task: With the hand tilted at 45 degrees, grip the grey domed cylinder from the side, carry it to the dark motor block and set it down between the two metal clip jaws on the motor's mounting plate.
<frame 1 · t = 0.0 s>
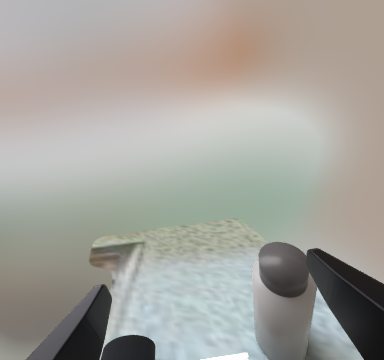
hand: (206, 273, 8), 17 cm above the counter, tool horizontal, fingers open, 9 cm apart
grey domed cylinder: (279, 335, 19), on the counter
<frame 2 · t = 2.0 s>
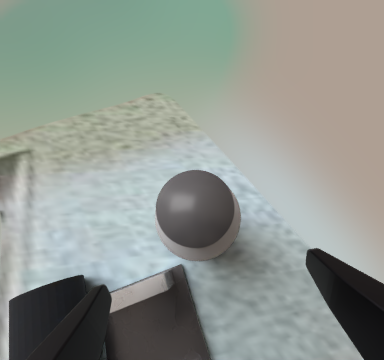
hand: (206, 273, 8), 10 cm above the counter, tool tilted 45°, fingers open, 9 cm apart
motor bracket: (155, 339, 15), on the counter
grey domed cylinder: (202, 230, 18), on the counter
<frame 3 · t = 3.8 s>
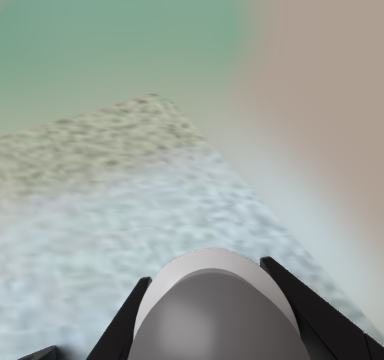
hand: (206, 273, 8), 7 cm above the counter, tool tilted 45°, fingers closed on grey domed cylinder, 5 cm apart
grey domed cylinder: (210, 282, 14), on the counter, touching gripper
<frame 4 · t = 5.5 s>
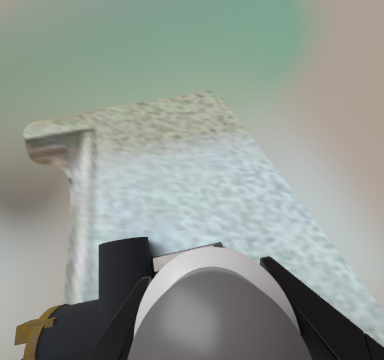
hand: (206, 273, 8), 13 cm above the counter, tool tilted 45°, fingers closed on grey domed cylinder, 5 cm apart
pipe connector: (109, 319, 19), on the counter
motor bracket: (195, 297, 19), on the counter
grey domed cylinder: (210, 282, 14), point 7 cm above the counter, touching gripper
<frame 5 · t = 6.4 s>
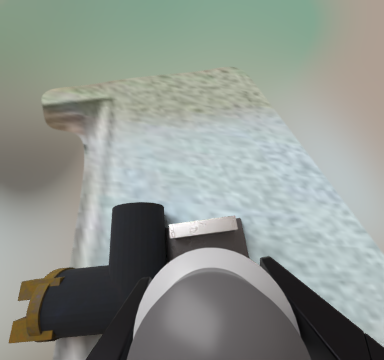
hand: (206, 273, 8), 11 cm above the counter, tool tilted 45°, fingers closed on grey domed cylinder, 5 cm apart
pipe connector: (116, 290, 18), on the counter, touching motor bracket
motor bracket: (209, 273, 18), on the counter
grey domed cylinder: (210, 282, 14), point 4 cm above the counter, touching gripper
when the fingers open (8 cm above the counter, at t = 7.3 s): grey domed cylinder drops 1 cm, resting on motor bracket.
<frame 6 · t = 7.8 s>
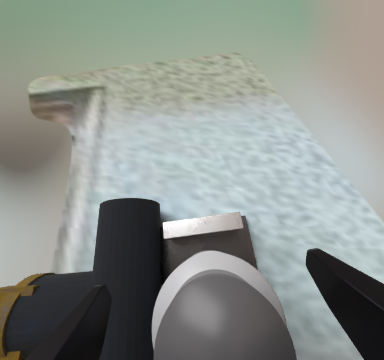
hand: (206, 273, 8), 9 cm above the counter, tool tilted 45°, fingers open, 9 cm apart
pipe connector: (103, 299, 16), on the counter
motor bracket: (210, 278, 15), on the counter
grey domed cylinder: (210, 280, 15), point 1 cm above the counter, touching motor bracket
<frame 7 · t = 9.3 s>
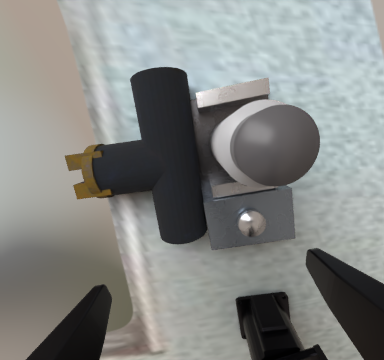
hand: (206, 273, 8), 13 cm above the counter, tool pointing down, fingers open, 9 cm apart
pipe connector: (147, 162, 21), on the counter, touching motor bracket
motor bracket: (231, 141, 19), on the counter
grey domed cylinder: (232, 142, 19), resting on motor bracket
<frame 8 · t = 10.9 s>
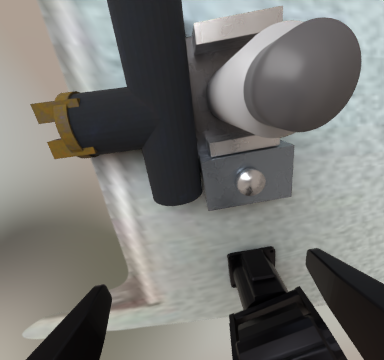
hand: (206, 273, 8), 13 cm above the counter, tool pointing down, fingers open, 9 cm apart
pipe connector: (134, 118, 18), on the counter
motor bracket: (230, 94, 17), on the counter
grey domed cylinder: (231, 94, 17), resting on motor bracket
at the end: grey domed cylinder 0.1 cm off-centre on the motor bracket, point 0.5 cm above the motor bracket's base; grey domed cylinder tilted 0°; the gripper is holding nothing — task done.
